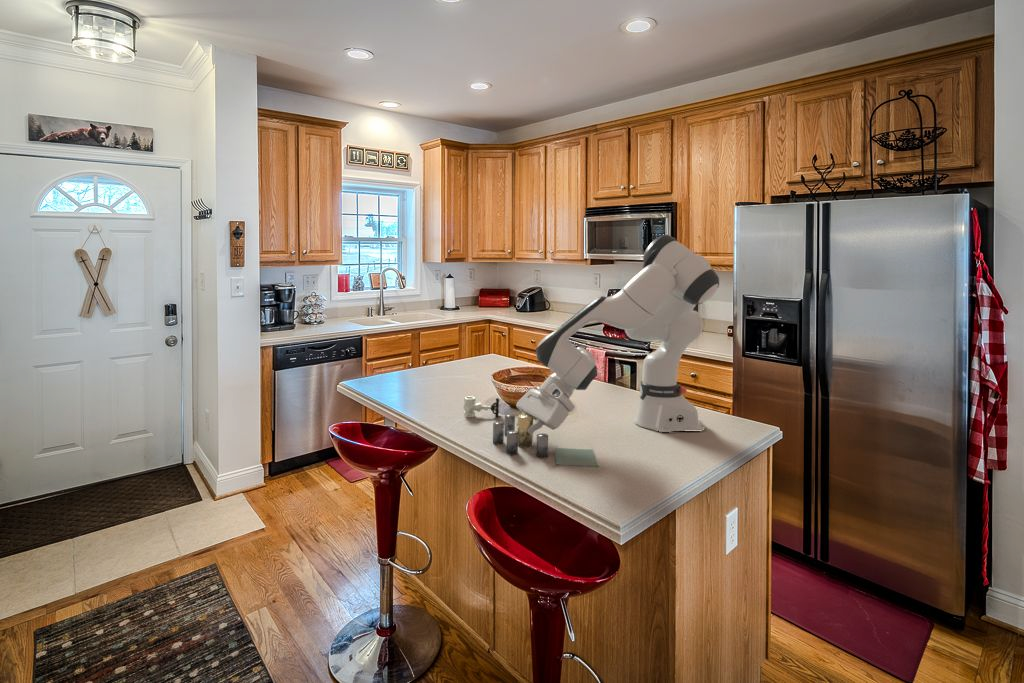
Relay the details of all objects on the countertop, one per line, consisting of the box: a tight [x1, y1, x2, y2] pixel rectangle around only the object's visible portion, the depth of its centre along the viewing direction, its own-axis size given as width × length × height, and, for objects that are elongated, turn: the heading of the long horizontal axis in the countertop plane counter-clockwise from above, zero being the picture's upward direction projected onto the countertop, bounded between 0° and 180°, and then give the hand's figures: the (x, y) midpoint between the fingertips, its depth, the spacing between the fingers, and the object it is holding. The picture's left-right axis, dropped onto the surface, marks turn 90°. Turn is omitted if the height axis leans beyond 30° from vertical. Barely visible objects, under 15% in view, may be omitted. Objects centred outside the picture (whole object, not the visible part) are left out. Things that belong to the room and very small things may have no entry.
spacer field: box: [492, 413, 549, 459], centre depth 155 cm, size 10×23×6 cm, turn 27°
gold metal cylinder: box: [516, 413, 534, 448], centre depth 156 cm, size 4×4×8 cm
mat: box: [553, 447, 599, 468], centre depth 148 cm, size 11×12×1 cm
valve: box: [463, 396, 500, 418], centre depth 183 cm, size 7×7×12 cm
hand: (523, 429), depth 156 cm, fingers closed on gold metal cylinder, 4 cm apart
